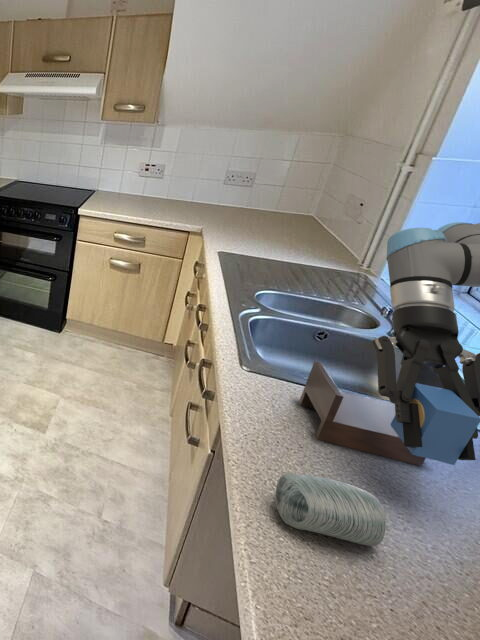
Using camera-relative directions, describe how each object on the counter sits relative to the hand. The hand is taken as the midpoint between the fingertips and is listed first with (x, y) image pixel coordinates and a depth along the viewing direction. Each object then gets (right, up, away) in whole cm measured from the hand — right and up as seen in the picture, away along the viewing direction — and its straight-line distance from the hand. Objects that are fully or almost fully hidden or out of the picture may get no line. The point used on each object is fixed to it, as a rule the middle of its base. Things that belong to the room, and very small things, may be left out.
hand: (438, 452), depth 63 cm
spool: (-16, -13, +2) cm, 21 cm away
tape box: (+1, 0, +4) cm, 4 cm away
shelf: (+7, -6, +22) cm, 24 cm away
